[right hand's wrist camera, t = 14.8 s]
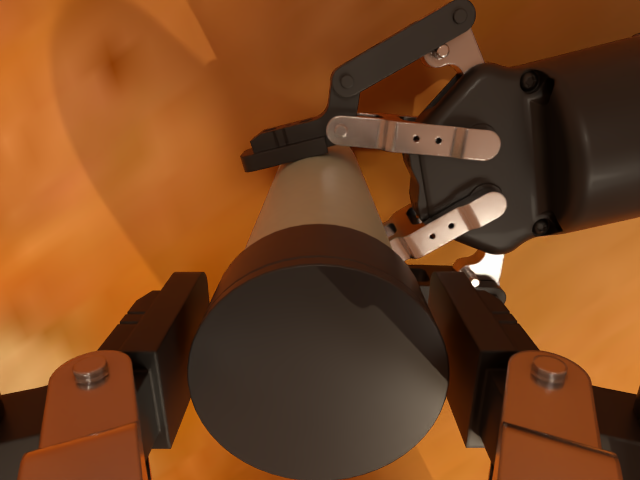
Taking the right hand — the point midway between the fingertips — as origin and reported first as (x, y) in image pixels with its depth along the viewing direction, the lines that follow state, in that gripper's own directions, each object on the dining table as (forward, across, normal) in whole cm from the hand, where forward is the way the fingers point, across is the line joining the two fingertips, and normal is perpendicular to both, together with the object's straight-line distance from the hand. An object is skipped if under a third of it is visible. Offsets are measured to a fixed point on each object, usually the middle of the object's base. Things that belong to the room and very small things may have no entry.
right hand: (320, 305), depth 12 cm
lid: (-3, 0, 0) cm, 3 cm away
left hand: (+10, -3, -1) cm, 10 cm away
